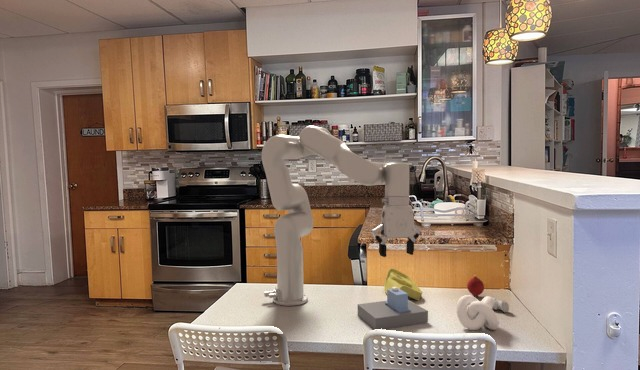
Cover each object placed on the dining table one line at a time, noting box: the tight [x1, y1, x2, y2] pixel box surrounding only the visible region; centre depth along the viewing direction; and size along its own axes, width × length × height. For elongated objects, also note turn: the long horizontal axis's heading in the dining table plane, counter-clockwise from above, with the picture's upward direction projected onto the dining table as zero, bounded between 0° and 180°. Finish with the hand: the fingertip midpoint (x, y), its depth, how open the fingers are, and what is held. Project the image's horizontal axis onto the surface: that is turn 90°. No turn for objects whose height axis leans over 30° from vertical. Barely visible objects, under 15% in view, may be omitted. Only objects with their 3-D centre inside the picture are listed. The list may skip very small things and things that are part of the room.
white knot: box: [455, 294, 500, 331], centre depth 121 cm, size 11×12×9 cm
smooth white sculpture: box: [490, 296, 510, 313], centre depth 135 cm, size 4×8×5 cm
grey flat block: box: [357, 299, 429, 330], centre depth 127 cm, size 18×13×4 cm
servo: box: [385, 287, 411, 313], centre depth 128 cm, size 4×9×9 cm, turn 19°
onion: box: [466, 274, 485, 297], centre depth 149 cm, size 6×6×8 cm
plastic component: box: [383, 267, 423, 301], centre depth 154 cm, size 20×7×10 cm
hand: (396, 255), depth 127 cm, fingers open, 9 cm apart
